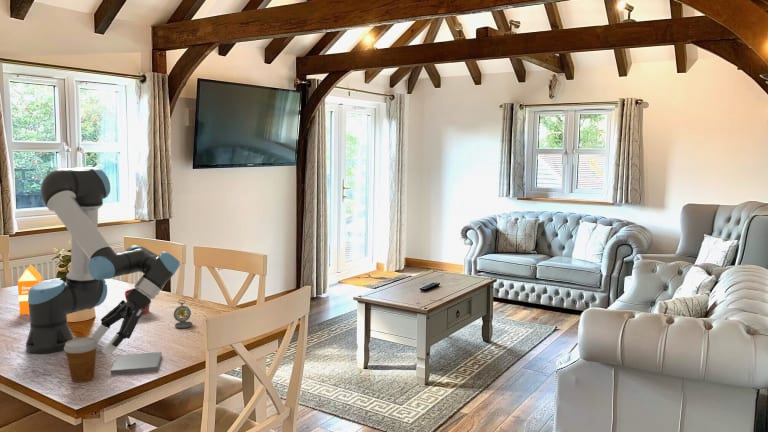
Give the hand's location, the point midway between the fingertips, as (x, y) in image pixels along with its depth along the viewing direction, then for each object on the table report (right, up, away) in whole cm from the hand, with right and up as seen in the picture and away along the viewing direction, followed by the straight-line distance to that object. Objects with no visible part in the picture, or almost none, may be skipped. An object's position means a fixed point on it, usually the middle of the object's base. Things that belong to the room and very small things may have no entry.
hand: (98, 348), depth 192 cm
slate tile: (+8, -8, +11) cm, 15 cm away
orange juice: (-62, 0, +71) cm, 94 cm away
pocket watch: (+10, -2, +53) cm, 54 cm away
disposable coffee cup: (-4, -9, -1) cm, 10 cm away
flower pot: (-15, 0, +70) cm, 72 cm away
